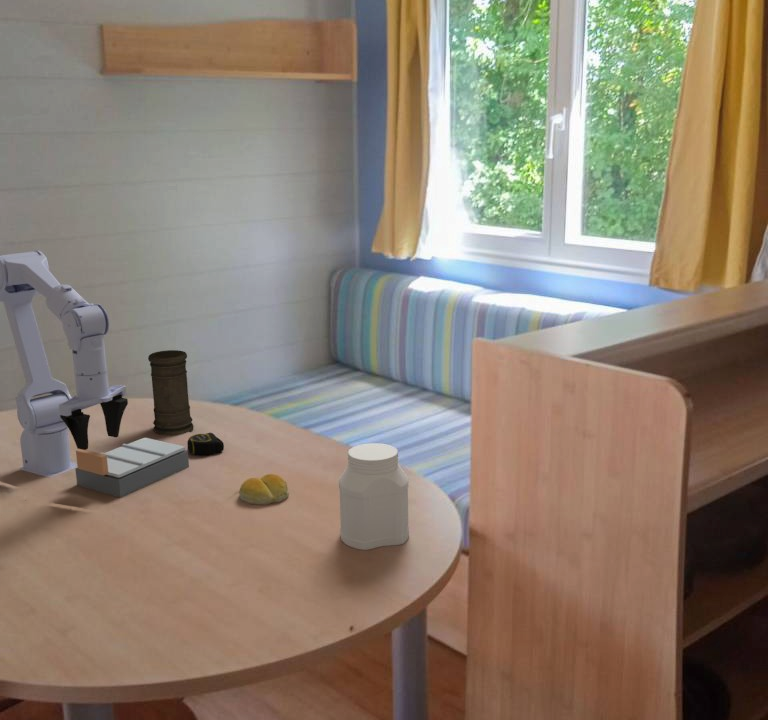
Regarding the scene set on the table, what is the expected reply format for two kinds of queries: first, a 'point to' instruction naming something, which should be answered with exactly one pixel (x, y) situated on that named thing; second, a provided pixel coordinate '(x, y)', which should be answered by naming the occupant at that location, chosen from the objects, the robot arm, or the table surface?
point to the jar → (373, 498)
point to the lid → (126, 457)
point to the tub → (133, 476)
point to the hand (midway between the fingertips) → (98, 442)
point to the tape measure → (204, 444)
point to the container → (170, 393)
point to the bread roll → (264, 490)
